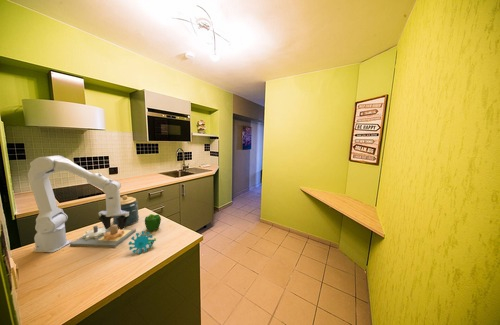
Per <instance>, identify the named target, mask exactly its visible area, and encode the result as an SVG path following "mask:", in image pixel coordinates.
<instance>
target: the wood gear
mask: <svg viewBox="0 0 500 325" xmlns="http://www.w3.org/2000/svg"><path fill="white" fill-rule="evenodd" d="M109 229H110V232H107V233H106V235H104V239H106V240H110V239H116V238H117V237H119V236H123V233H124V230H120V228H119V227H117V225H114V224H111V226H110V228H109ZM118 229H119V230H118Z"/></svg>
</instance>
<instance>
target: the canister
mask: <svg viewBox="0 0 500 325" xmlns="http://www.w3.org/2000/svg"><path fill="white" fill-rule="evenodd" d="M120 204H121V210H122V211H126V212H129V217H128V218H127V220H126V223H125V227H127V226H130V225H134V224H135V223H137V222H139V217H140V216H139V205H138V204H139V201H138V200H137V198H136V197H133V196H128V195H127V194H125V195H122V197H120ZM119 217H120V216H112V225H117V227H118V228H120V226H119V222H118V220H117V218H119Z"/></svg>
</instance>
